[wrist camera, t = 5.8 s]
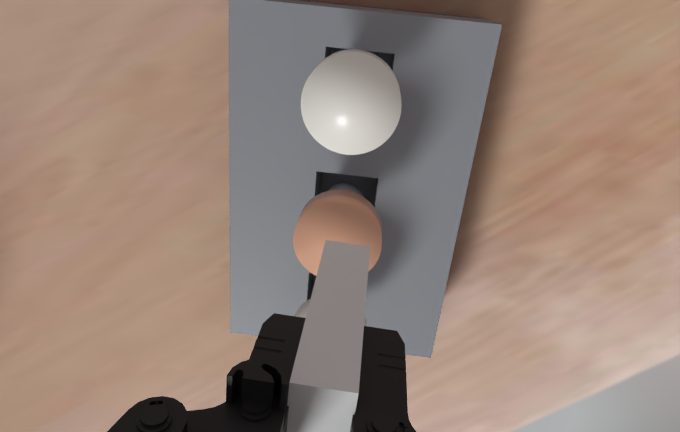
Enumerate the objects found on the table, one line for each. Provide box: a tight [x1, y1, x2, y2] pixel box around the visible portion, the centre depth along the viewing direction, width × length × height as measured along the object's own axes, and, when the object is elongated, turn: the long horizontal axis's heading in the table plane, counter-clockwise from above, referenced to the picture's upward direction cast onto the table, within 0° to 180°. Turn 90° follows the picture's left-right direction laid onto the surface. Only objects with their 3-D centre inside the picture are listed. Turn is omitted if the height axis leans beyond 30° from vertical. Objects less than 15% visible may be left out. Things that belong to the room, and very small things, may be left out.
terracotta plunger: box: [293, 182, 382, 276], centre depth 26 cm, size 4×4×5 cm
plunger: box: [301, 49, 402, 155], centre depth 23 cm, size 4×4×5 cm
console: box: [229, 0, 502, 358], centre depth 30 cm, size 13×20×4 cm, turn 175°
